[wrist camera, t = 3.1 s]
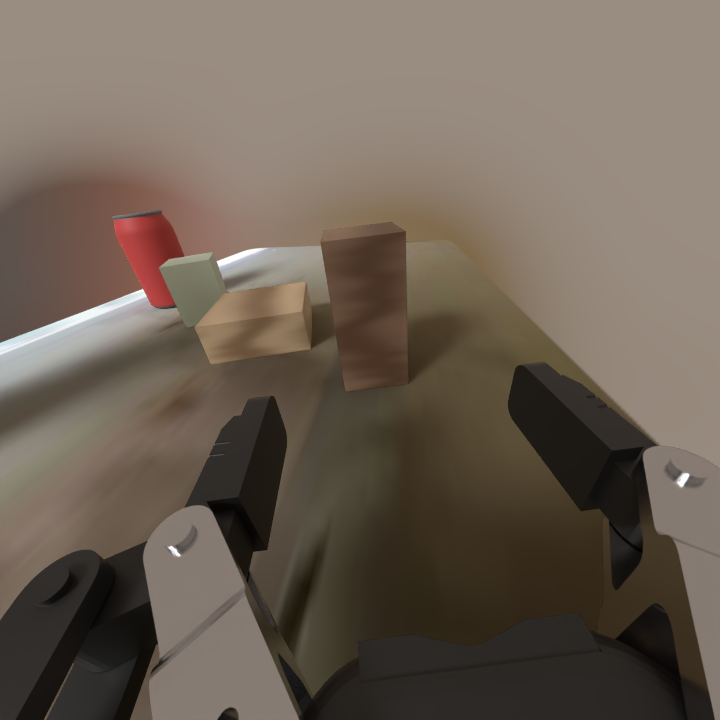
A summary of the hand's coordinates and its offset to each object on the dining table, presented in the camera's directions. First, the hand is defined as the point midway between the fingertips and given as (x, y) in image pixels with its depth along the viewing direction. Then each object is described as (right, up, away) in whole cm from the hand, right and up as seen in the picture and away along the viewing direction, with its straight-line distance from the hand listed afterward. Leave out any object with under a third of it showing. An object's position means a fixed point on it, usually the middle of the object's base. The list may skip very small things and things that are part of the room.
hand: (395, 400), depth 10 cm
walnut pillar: (0, +1, +13) cm, 13 cm away
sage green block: (-20, +7, +27) cm, 34 cm away
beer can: (-29, +10, +34) cm, 45 cm away
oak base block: (-11, +4, +20) cm, 23 cm away
